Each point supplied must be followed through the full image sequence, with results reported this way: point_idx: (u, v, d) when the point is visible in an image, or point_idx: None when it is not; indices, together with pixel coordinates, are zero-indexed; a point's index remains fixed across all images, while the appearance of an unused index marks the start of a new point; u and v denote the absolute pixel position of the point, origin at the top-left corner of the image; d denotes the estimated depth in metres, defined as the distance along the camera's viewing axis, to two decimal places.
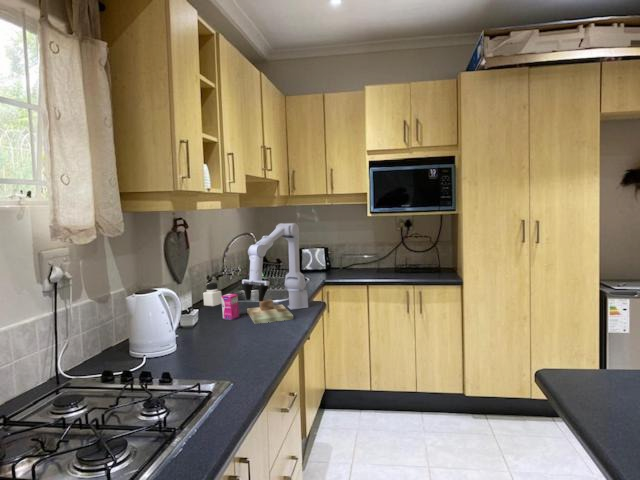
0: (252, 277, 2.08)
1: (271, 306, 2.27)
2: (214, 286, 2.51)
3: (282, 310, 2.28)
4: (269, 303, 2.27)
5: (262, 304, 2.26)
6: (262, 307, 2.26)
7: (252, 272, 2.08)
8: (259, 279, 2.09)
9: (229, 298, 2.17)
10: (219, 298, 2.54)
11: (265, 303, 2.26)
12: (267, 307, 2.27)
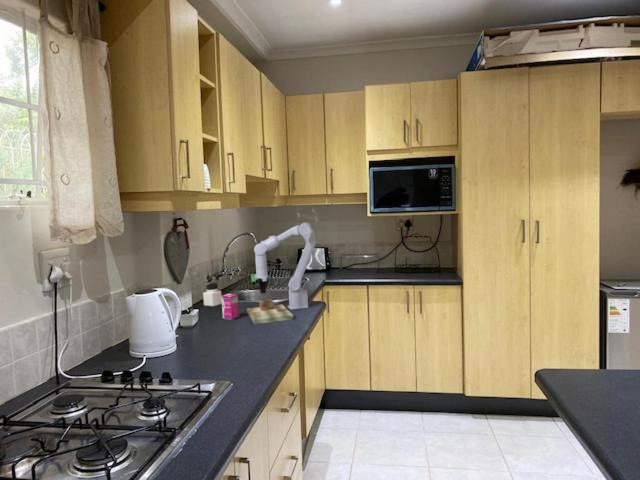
0: (256, 273, 2.35)
1: (271, 306, 2.27)
2: (214, 286, 2.51)
3: (282, 310, 2.28)
4: (269, 303, 2.27)
5: (262, 304, 2.26)
6: (262, 307, 2.26)
7: (256, 269, 2.35)
8: (261, 275, 2.33)
9: (229, 298, 2.17)
10: (219, 298, 2.54)
11: (265, 303, 2.26)
12: (267, 307, 2.27)
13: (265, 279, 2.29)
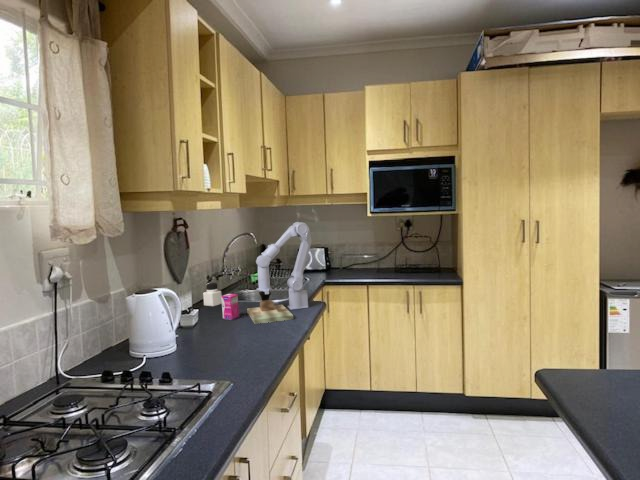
0: None
1: (271, 307, 2.26)
2: (214, 286, 2.51)
3: (282, 310, 2.28)
4: (269, 304, 2.25)
5: (262, 305, 2.24)
6: (262, 308, 2.24)
7: (258, 281, 2.30)
8: (264, 287, 2.29)
9: (229, 298, 2.17)
10: (219, 298, 2.54)
11: (265, 304, 2.25)
12: (267, 308, 2.25)
13: (268, 292, 2.25)
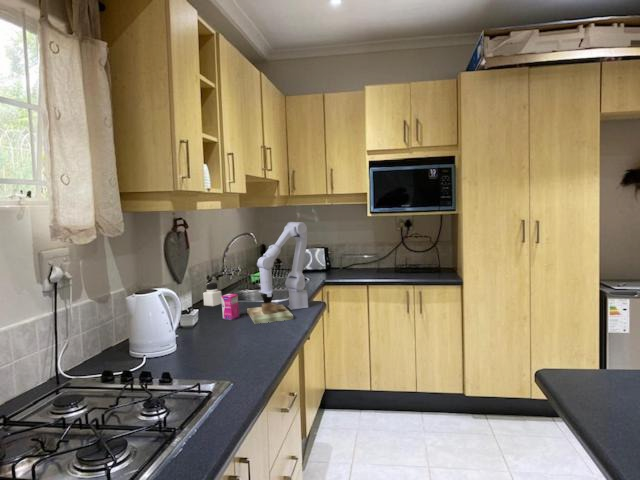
0: (261, 288, 2.24)
1: (274, 310, 2.19)
2: (214, 286, 2.51)
3: (282, 310, 2.28)
4: (272, 307, 2.19)
5: (265, 308, 2.18)
6: (265, 311, 2.18)
7: (260, 283, 2.24)
8: (266, 290, 2.22)
9: (229, 298, 2.17)
10: (219, 298, 2.54)
11: (268, 307, 2.18)
12: (269, 311, 2.19)
13: (270, 294, 2.19)
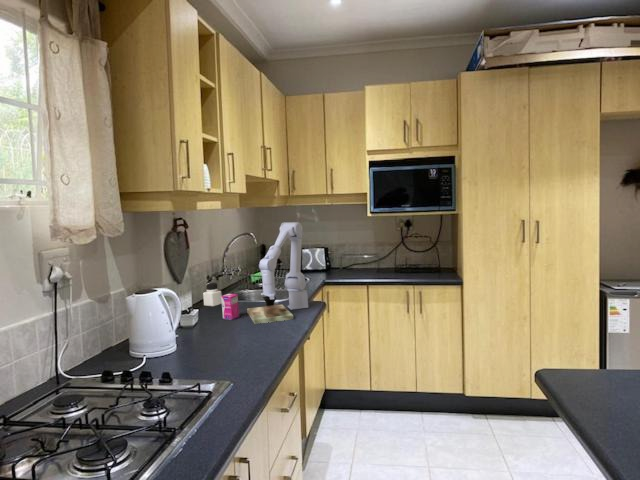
0: (263, 290, 2.18)
1: (277, 313, 2.13)
2: (214, 286, 2.51)
3: (282, 310, 2.28)
4: (274, 310, 2.13)
5: (267, 311, 2.12)
6: (267, 314, 2.12)
7: (263, 285, 2.18)
8: (269, 292, 2.16)
9: (229, 298, 2.17)
10: (219, 298, 2.54)
11: (270, 310, 2.12)
12: (272, 314, 2.13)
13: (273, 297, 2.13)
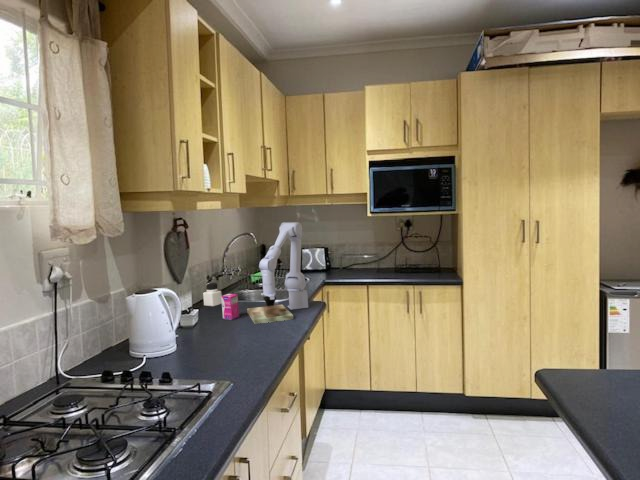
0: (263, 290, 2.18)
1: (277, 313, 2.13)
2: (214, 286, 2.51)
3: (282, 310, 2.28)
4: (275, 310, 2.13)
5: (267, 311, 2.12)
6: (267, 314, 2.12)
7: (263, 286, 2.17)
8: (269, 292, 2.16)
9: (229, 298, 2.17)
10: (219, 298, 2.54)
11: (270, 310, 2.12)
12: (272, 314, 2.12)
13: (273, 297, 2.12)
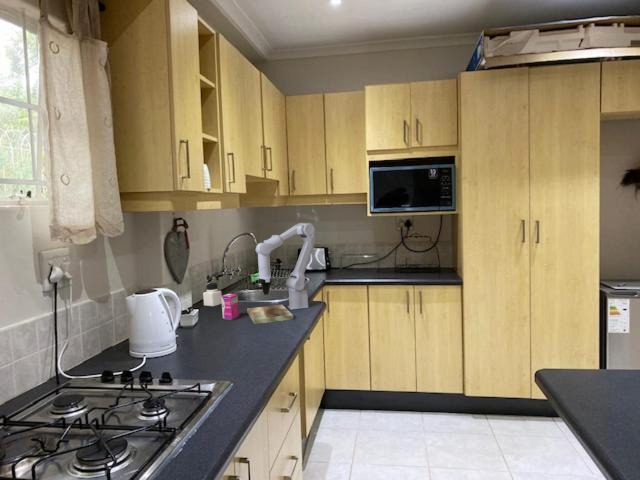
0: (259, 273, 2.26)
1: (277, 313, 2.13)
2: (214, 286, 2.51)
3: (282, 310, 2.28)
4: (275, 310, 2.13)
5: (267, 311, 2.12)
6: (267, 314, 2.12)
7: (259, 269, 2.26)
8: (264, 275, 2.25)
9: (229, 298, 2.17)
10: (219, 298, 2.54)
11: (270, 310, 2.12)
12: (272, 314, 2.12)
13: (268, 280, 2.21)
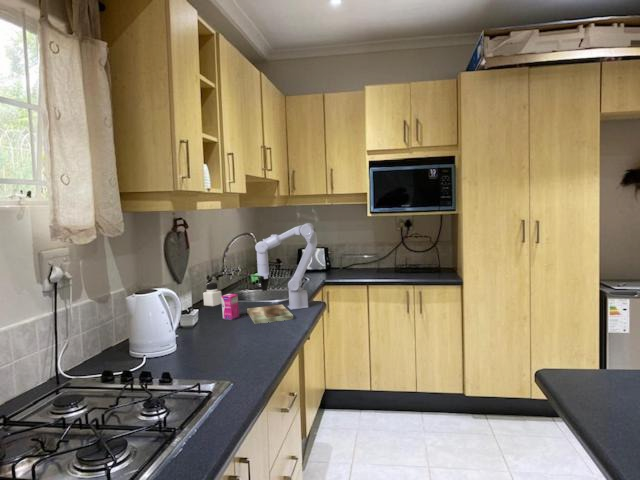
0: None
1: (277, 313, 2.13)
2: (214, 286, 2.51)
3: (282, 310, 2.28)
4: (275, 310, 2.13)
5: (267, 311, 2.12)
6: (267, 314, 2.12)
7: (257, 266, 2.36)
8: (263, 272, 2.34)
9: (229, 298, 2.17)
10: (219, 298, 2.54)
11: (270, 310, 2.12)
12: (272, 314, 2.12)
13: (266, 277, 2.30)
